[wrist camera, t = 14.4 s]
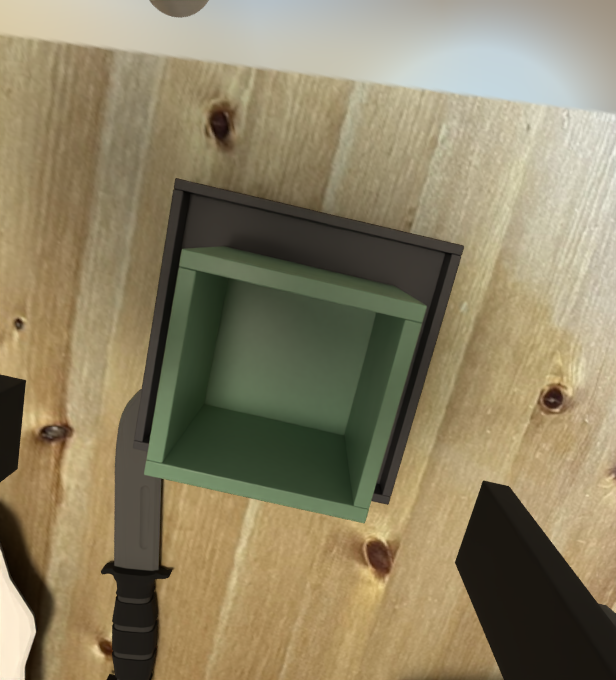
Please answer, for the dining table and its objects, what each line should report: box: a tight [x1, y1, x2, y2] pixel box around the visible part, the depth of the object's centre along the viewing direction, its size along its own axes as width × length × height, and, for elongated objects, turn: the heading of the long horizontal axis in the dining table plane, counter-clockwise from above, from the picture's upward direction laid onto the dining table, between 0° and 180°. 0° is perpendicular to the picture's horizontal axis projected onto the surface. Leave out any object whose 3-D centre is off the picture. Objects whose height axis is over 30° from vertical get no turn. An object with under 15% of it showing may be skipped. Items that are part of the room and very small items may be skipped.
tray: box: [133, 178, 464, 505], centre depth 30 cm, size 17×17×2 cm
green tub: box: [144, 246, 427, 523], centre depth 26 cm, size 11×11×9 cm
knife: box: [101, 389, 172, 680], centre depth 34 cm, size 25×2×5 cm
